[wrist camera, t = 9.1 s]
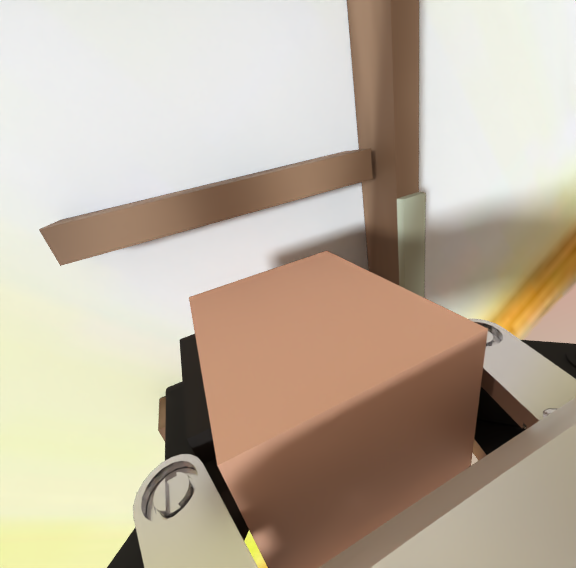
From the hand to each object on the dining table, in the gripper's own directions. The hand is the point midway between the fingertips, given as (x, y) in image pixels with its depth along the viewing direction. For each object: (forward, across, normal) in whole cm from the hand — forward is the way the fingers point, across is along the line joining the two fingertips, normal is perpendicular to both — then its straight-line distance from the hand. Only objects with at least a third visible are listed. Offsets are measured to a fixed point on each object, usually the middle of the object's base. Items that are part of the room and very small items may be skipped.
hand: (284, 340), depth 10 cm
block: (+1, 0, 0) cm, 1 cm away
